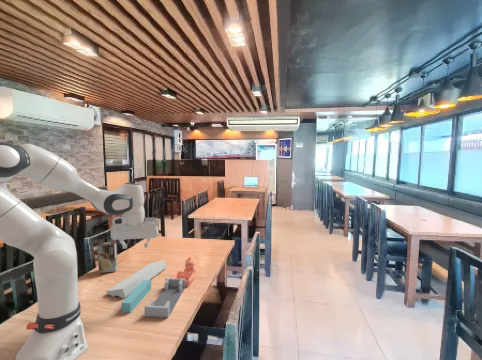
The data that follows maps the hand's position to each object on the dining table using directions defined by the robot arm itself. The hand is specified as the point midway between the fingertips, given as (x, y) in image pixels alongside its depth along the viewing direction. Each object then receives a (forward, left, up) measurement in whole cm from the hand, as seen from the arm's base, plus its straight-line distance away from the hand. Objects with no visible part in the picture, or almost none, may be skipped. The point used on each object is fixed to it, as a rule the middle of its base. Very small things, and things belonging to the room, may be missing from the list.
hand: (135, 247), depth 114 cm
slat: (0, 0, -26) cm, 26 cm away
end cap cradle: (0, -14, -25) cm, 29 cm away
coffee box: (+29, +32, -25) cm, 50 cm away
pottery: (+22, -17, -26) cm, 38 cm away
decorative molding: (+19, +12, -25) cm, 34 cm away
